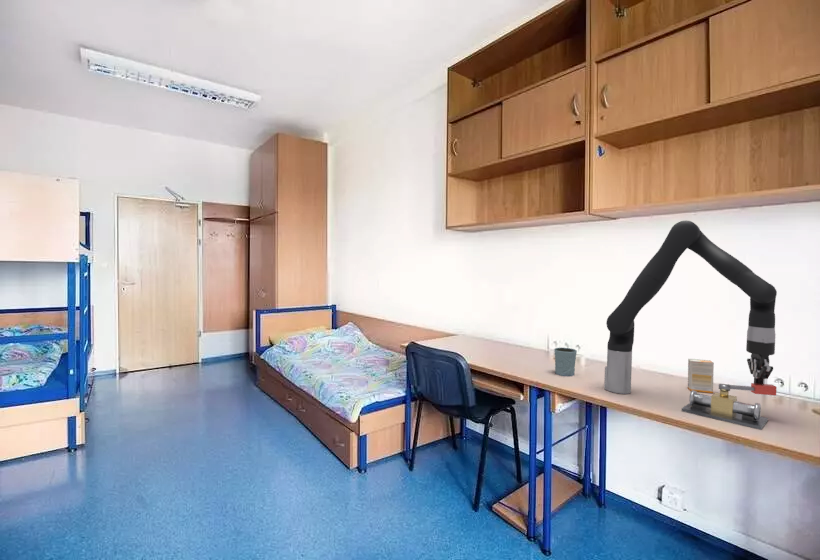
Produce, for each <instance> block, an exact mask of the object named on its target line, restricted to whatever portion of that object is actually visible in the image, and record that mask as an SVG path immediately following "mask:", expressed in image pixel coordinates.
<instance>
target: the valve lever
mask: <svg viewBox="0 0 820 560" xmlns="http://www.w3.org/2000/svg"><path fill="white" fill-rule="evenodd" d="M777 388H778V387H777V386H776V385H774V384H769V383H764V384H757V383H754V382H751V383H750V385H738V384H736V385H735V384H725V383H718V390H719V391H720V390H724V391H729V392H730V391H731V390H739V391H750V392H751V393H753V394H754V395H755V394H756V395H766V396H777Z"/></svg>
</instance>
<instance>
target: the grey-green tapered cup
mask: <svg viewBox="0 0 820 560" xmlns="http://www.w3.org/2000/svg"><path fill="white" fill-rule="evenodd" d="M553 351H554V365H555V366H554V370H555V371H554V373H555V374H556V375H558V376H561V377H573V376H575V370H576V368H575V367H576V359H577V350H576V349H574V348H569V347H556V348H554V349H553Z"/></svg>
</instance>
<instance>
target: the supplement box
mask: <svg viewBox="0 0 820 560" xmlns="http://www.w3.org/2000/svg"><path fill="white" fill-rule="evenodd" d="M687 361H688V362H687V389H688V390H689V392H691V391H692V390H694V391H696V392H697V393H698V392H699V393H705V394H706V393H707V394H714V367H715V366H714V361H712V360H711V359H700V358H699V359H696V358H688V360H687Z"/></svg>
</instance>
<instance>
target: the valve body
mask: <svg viewBox="0 0 820 560" xmlns="http://www.w3.org/2000/svg"><path fill="white" fill-rule="evenodd" d="M729 392H730V391H724V390H720V389H719V392H713V393H712V395H707V394H703V393H698V392H697V391H694V390H692V391H690V393H689V403H688V404H686V405H684V406H683V407H682V408H681V412H685V413H688V414H693V415H697V416H701V417H705V418H709V419H714V420H716V421H717V420H718V421H722V422H725V423H726V422H727V423H730V424H736V425H738V426H739V425H740V426H743V427H748V428H752V429H756V430H760V431H761V430H762V429H764V427H765V425H766V424H767V423H768V422H769V418H768V417H765V416H764V417H763V416H761V411H762V410H761V409H762V407H761V403H758V402H755V403H754V404H751V403H747V402H741V401H738V400H737V398H738V396H735V395H730V393H729Z"/></svg>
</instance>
